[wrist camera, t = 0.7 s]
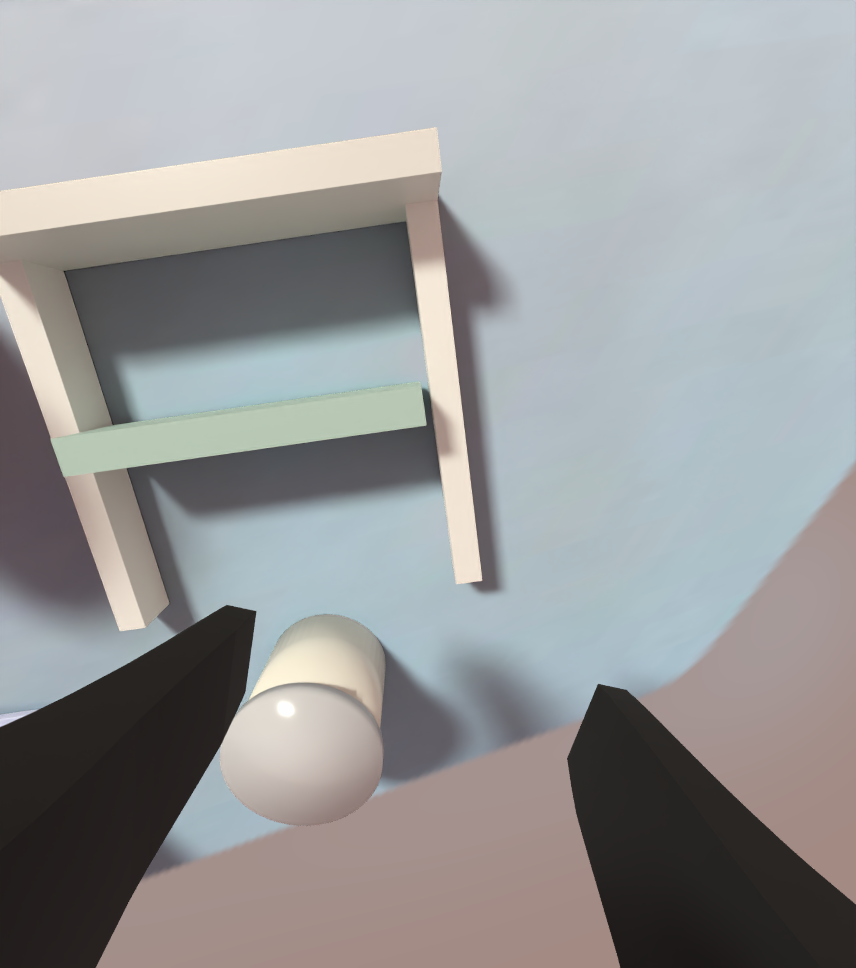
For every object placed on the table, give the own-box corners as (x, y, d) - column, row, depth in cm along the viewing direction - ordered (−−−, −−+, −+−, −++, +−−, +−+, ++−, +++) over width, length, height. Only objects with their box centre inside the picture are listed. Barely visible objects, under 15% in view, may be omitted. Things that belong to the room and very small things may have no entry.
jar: (282, 722, 21) (241, 835, 16) (255, 619, 20) (200, 707, 15) (398, 706, 21) (394, 814, 16) (379, 601, 20) (367, 684, 15)
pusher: (125, 456, 17) (63, 476, 14) (115, 424, 17) (50, 438, 14) (424, 413, 17) (426, 425, 14) (419, 381, 17) (421, 386, 14)
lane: (146, 606, 19) (79, 668, 16) (24, 243, 16) (-102, 205, 12) (476, 560, 19) (491, 610, 15) (430, 184, 16) (436, 127, 12)
